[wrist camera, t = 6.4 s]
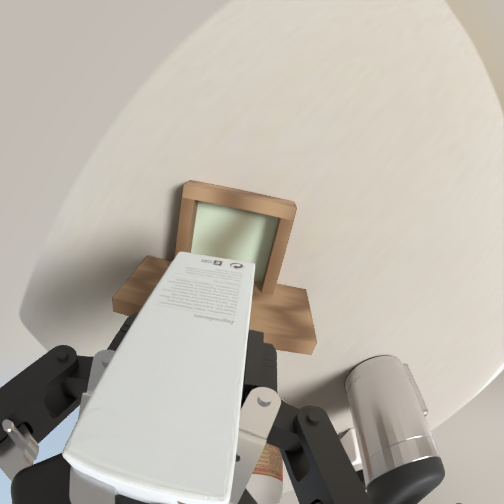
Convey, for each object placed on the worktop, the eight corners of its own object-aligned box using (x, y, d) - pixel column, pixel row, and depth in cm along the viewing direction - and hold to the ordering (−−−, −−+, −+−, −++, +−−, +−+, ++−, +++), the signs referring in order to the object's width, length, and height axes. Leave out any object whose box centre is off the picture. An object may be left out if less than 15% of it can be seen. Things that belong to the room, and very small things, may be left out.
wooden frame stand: (330, 210, 28) (356, 244, 20) (302, 300, 32) (311, 354, 24) (155, 174, 27) (112, 193, 19) (147, 267, 32) (113, 311, 23)
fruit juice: (275, 404, 40) (271, 575, 14) (286, 432, 44) (287, 574, 18) (218, 410, 42) (192, 568, 16) (236, 437, 45) (221, 572, 19)
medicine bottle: (332, 445, 46) (339, 495, 35) (350, 427, 43) (360, 482, 32) (362, 445, 46) (371, 492, 35) (381, 428, 43) (394, 478, 32)
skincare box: (176, 248, 15) (53, 450, 4) (256, 260, 15) (236, 504, 4) (175, 335, 18) (113, 510, 6) (242, 346, 18) (220, 535, 7)
